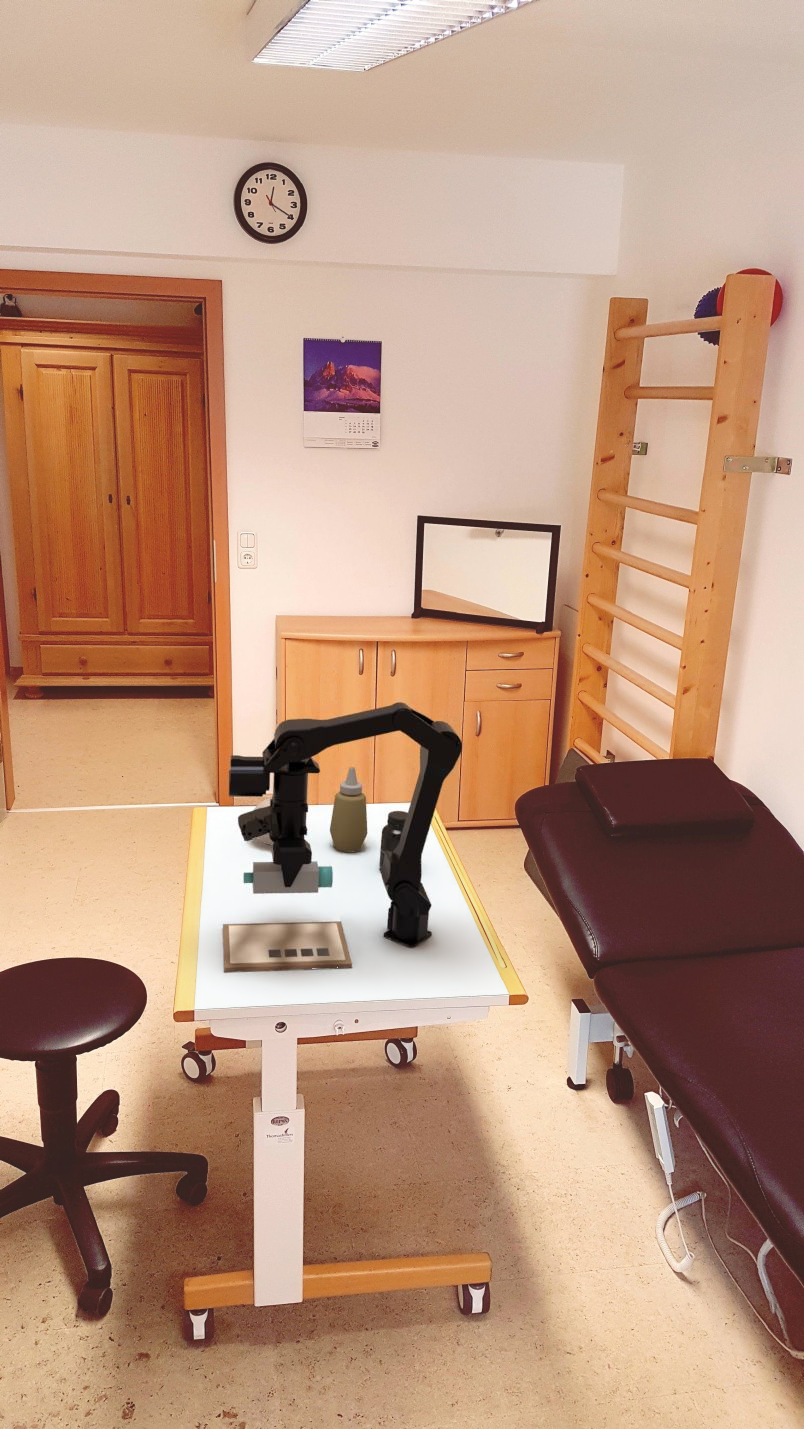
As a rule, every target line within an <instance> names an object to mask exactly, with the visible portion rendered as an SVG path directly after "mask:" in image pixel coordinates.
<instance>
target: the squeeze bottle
mask: <svg viewBox="0 0 804 1429" xmlns="http://www.w3.org/2000/svg"><path fill="white" fill-rule="evenodd" d="M367 811H368V810H367V796H366V794H364V793H363V784H362V783H361V782H360V781H358V778H357V773H356V767H354V766H350V767H349V768H348V771H347V774H346V778H345V781H342V782H340V784H339V791H337V793H335V794H334V801H333V808H332V814H331V818H330V819H331V820H330V825H329V826H330V827H329V833H330V836H331V840H332V844H333V847H334V849H336V850H337V851H340V852H344V853H345V852H346V853H353V852H358V851H359V850H361V849H362V848H363V845H364V842H365V840H366V837H367V835H368V813H367Z"/></svg>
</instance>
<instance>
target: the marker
mask: <svg viewBox="0 0 804 1429" xmlns="http://www.w3.org/2000/svg"><path fill="white" fill-rule="evenodd" d="M333 872H334V871H333V866H331V865H327V866H325V865H323V866H321V865H320V866H319V864H318V861H316V860H315V861H313V860H312V861H311V863H310V864H303V866H302V868H301V869H300V871H299V873H298V875H297V877H296V879H295V880H294V882H293V884H292V886H291V887H285V886H284V880H283V874H282V868H281V865H276V864H273V861H252V871H251V872H243V884H252V894H254V895H255V894H265V895H266V894H311V893H312V894H315V893H316V894H318V893H319V888H332V887H333V883H334V882H333V879H334V874H333Z"/></svg>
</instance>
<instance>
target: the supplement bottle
mask: <svg viewBox="0 0 804 1429" xmlns="http://www.w3.org/2000/svg"><path fill="white" fill-rule="evenodd" d="M407 814H408V812H406V811H403V810H394V811H390V812H388V814H387V822H386V823H387V824H385V825H384V826H383V828H382V829H381V837H380V849H379V850H380V851H379V862H378V863H379V866H378V867H379V868H380V867H381V866H382V864H383V861H384V854H385V850H388V851H390V852H393V851H394V850H395V848H396V847H397V846H398V844H399V842H400V838H401V835H402V831H403V828H404V824H405V821H406V817H407Z"/></svg>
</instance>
